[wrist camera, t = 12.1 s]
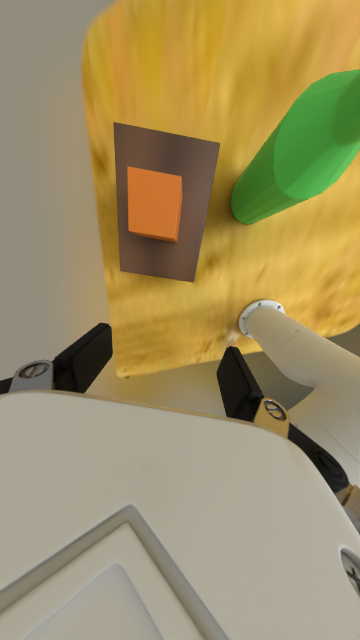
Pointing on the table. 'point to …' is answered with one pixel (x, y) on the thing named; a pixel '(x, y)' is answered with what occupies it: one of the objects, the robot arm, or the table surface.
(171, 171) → the shelf
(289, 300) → the table surface
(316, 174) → the bottle
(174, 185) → the cube
